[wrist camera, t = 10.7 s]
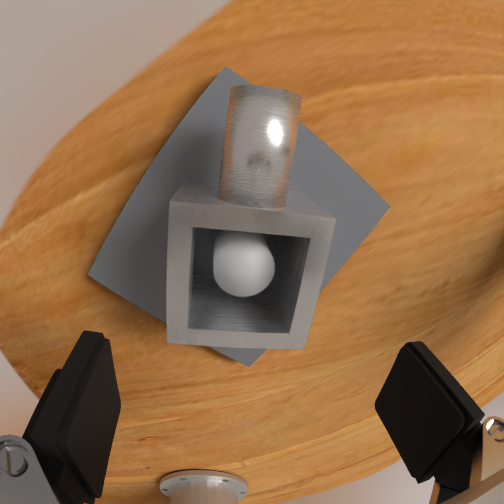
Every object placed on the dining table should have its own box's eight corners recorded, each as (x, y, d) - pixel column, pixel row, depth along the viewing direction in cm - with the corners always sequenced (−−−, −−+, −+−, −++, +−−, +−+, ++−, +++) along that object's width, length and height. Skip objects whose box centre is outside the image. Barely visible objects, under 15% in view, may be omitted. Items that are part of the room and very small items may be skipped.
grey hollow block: (281, 293, 21) (304, 348, 15) (178, 286, 20) (166, 342, 14) (312, 112, 17) (355, 105, 11) (194, 96, 16) (183, 76, 10)
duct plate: (247, 355, 24) (256, 409, 19) (94, 265, 20) (61, 308, 15) (380, 201, 21) (428, 226, 15) (224, 71, 16) (228, 44, 11)
